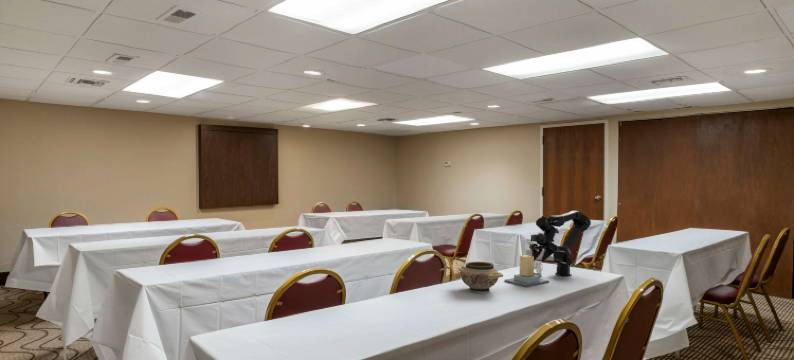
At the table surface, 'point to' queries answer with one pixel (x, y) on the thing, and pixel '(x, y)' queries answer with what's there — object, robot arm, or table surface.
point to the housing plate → (526, 280)
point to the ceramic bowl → (479, 276)
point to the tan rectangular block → (527, 266)
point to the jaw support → (538, 267)
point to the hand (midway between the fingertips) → (537, 261)
